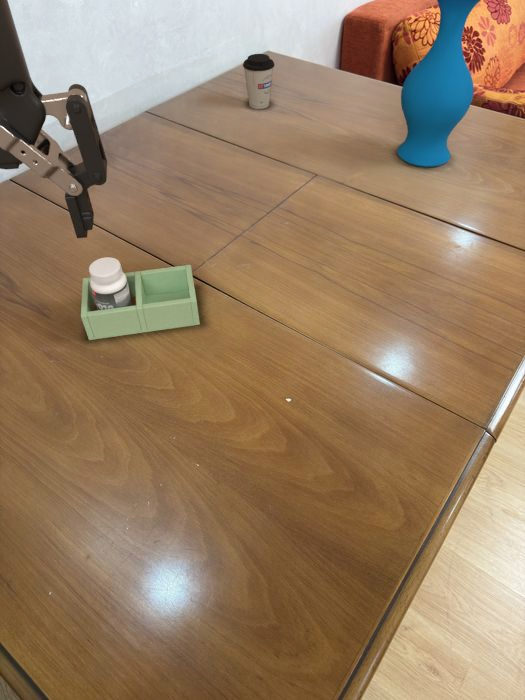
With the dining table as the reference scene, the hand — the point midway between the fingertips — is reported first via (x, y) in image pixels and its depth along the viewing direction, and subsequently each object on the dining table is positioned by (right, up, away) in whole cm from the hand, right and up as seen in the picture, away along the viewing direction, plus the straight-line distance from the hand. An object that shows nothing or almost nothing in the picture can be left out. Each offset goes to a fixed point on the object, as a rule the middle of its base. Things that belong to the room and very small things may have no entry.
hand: (25, 238), depth 41 cm
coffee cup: (+17, +48, +82) cm, 97 cm away
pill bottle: (-2, -4, +34) cm, 34 cm away
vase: (+50, +29, +65) cm, 87 cm away
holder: (+1, -3, +35) cm, 35 cm away
